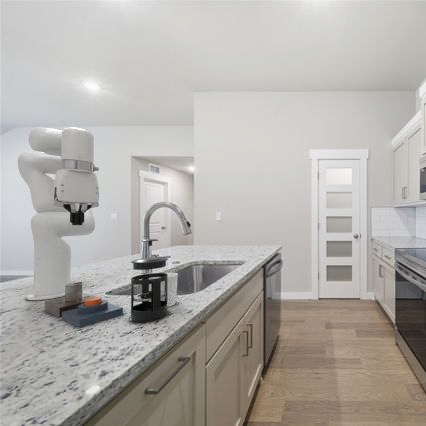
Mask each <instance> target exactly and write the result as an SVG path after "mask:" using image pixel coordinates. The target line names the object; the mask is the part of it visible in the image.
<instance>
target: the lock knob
mask: <svg viewBox="0 0 426 426" xmlns="http://www.w3.org/2000/svg"><path fill="white" fill-rule="evenodd" d="M82 294H83V281H77V282H70V284H66V285H65V296H64V297H65V301H67V302H69V301H76V300H80V299H82Z"/></svg>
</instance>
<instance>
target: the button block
mask: <svg viewBox="0 0 426 426" xmlns="http://www.w3.org/2000/svg"><path fill="white" fill-rule="evenodd" d="M123 315H124V307H122V306H119V305H116V304H113V303H110V302H109V301H108V300H107V299H102V300H101V304H98V305H94V306H85V303H83V304H80V305H79V306H78V308H76V309H72V310H68V311H64V312H62V317H61V320H63V321H64V322H67V323H69V324H71V325H73V326H75V327H77V328H78V329H81V328H84V327H87V326H91V325H94V324H97V323H100V322H101V323H102V322H104V321H107V320H111V319H114V318H117V317H118V318H119V317H122V316H123Z"/></svg>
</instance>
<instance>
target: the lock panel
mask: <svg viewBox="0 0 426 426" xmlns="http://www.w3.org/2000/svg"><path fill="white" fill-rule="evenodd" d="M95 297H97V296H96V295H94V294H90V293H88V292H82V299H80V300H76V301H69V302H67V301H65V296H63V297H58V298H53V299H48V300H44V312H47V313H49V314H51V315H53V316H54V317H57V318H58V319H59V318H61V319H62V312H64V311H68V310H72V309H76V308H78V306H79V305H80V304H83V303H85V300H86V299H89V298H95ZM101 300H103V299H102V297H101Z"/></svg>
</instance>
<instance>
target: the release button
mask: <svg viewBox="0 0 426 426" xmlns="http://www.w3.org/2000/svg"><path fill="white" fill-rule="evenodd" d="M101 298H102V297H100V296H96V297H95V298H89V299H86V300H85V306H94V305H98V304H101Z"/></svg>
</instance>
